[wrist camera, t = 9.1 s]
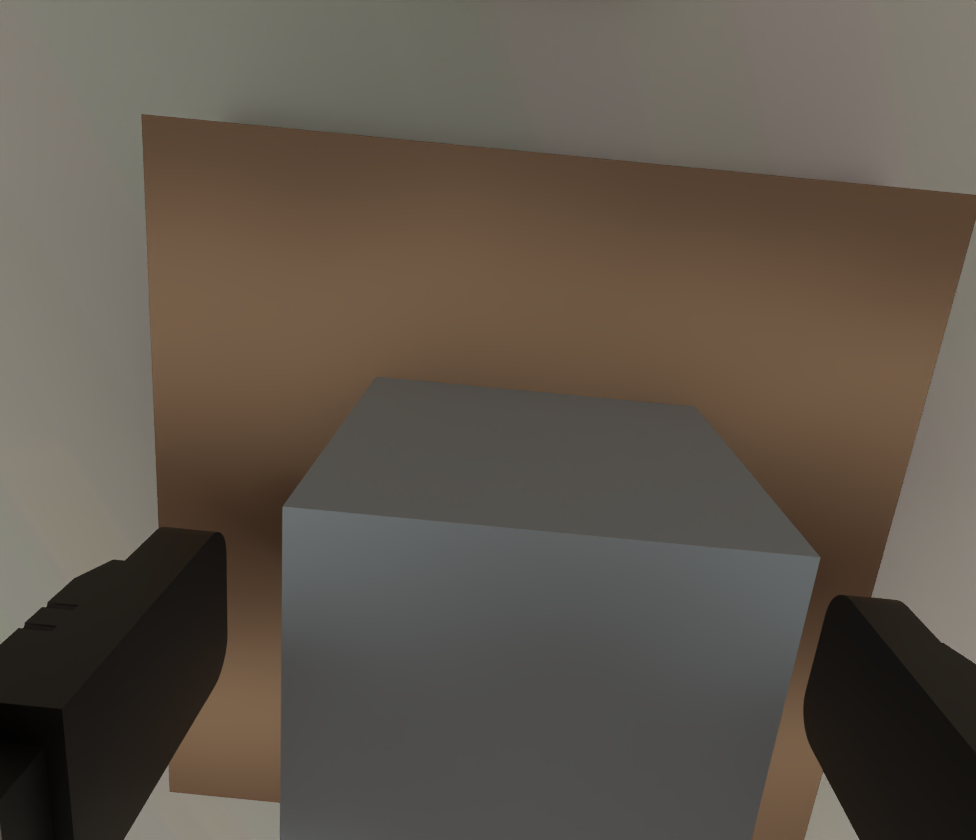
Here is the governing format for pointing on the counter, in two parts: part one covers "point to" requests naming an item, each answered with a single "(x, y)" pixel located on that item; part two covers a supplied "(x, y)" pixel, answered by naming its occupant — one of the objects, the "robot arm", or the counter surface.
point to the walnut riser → (523, 349)
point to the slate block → (532, 622)
